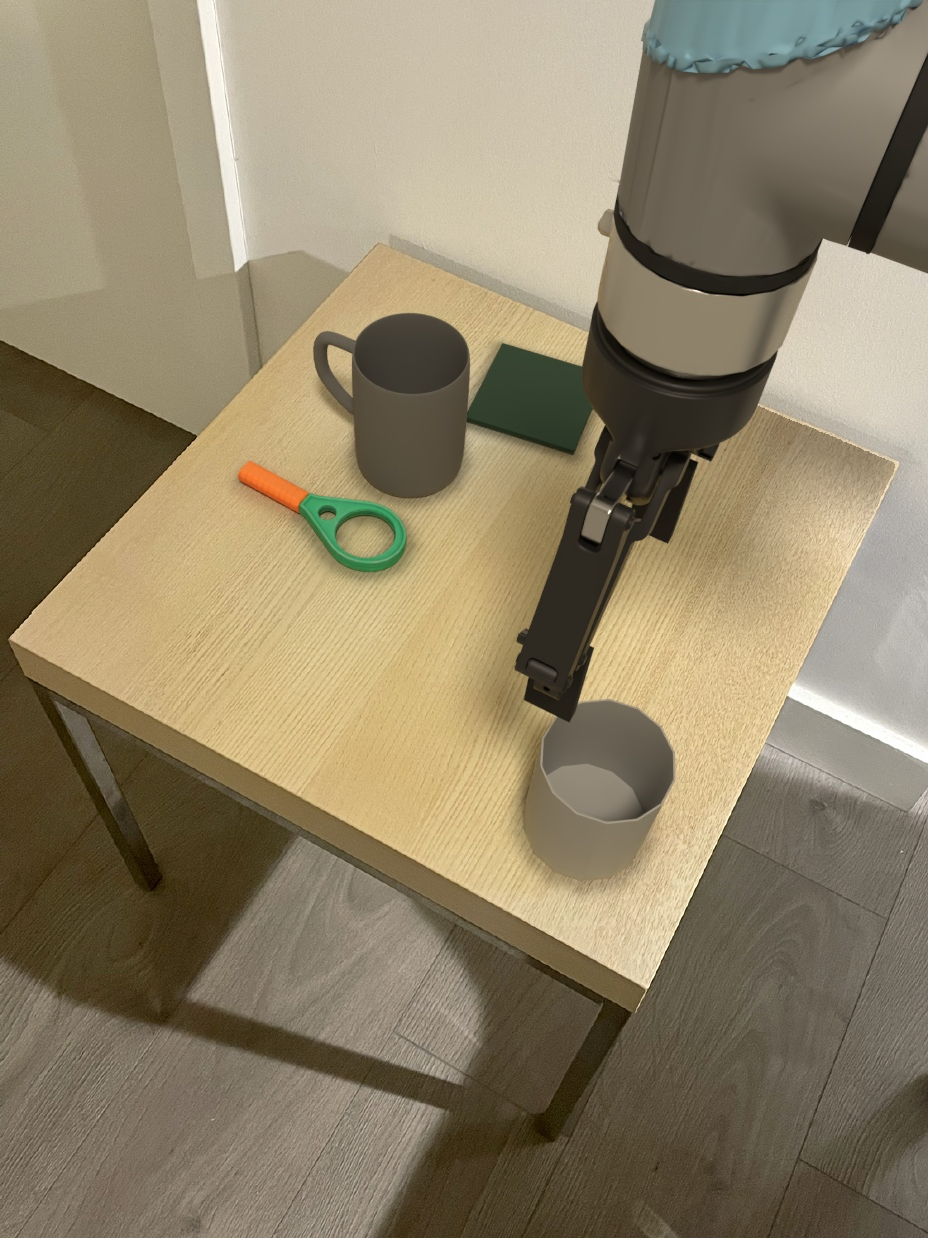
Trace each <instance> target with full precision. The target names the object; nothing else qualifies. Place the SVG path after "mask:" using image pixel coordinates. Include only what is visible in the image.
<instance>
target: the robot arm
mask: <svg viewBox="0 0 928 1238" xmlns="http://www.w3.org/2000/svg"><path fill="white" fill-rule="evenodd" d="M640 41H641V42H642V48H641V49H642V53H641V58H640V63H639V64H640V65H639V70H638V76H637V81H636V87H635V92H634V99H633V104H632V108H631V109H632V110H631V115H630V121H629V127H628V133H627V139H626V144H625V148H624V149H625V150H624V155H623V162H622V167H621V173H620V178H619V182H618V187H617V192H616V198H615V201H614V202H615V203H614V208H613V209H612V208H607V209H606V210H605V211H604V212H603V213H602V214H601V216H600V217H599V218H598V220H597V231H598V232H599V233H600V235H602V236H605V237H607V238H608V243H607V248H606V252H605V253H606V254H605V256H604V260H603V265H602V270H601V275H600V280H599V284H598V289H597V298H596V299H597V300H596V303H595V304H594V307H593V310H592V314H591V319H590V323H589V330H588V335H587V339H586V346H585V348H584V349H585V350H584V355H583V359H582V360H583V361H582V365H581V366H582V384H583V388H584V392H585V394H586V397H587V399H588V401H589V403H590V404H591V406H592V408H593V409H592V410H593V411H594V412H595V413H596V415H598V417H599V418H600V420H601V421H602V423H603V425H604V426H603V428H602V430H601V432H600V435H599V437H598V439H597V442H596V444H595V447H594V450H593V456H594V460H595V461H594V464H593V466H592V468H591V471H590V474H589V476H588V477H587V478H588V479H587V480H586V483H585V485H584V486H583V485H580V486H579V487H578V488H577V489H576V491H575V492H573V494H572V495H571V497H570V500H569V504H570V506H569V508H568V509H569V510H568V513H567V517H566V519H565V524H564V528H563V532H562V535H561V539H560V542H559V544H558V547H557V550H556V552H555V555H554V558H553V561H552V563H551V567H550V569H549V572H548V574H547V577H546V581H545V583H544V585H543V588H542V591H541V594H540V597H539V600H538V602H537V605H536V608H535V611H534V613H533V616H532V618H531V622H530V624H529V627H528V628H526V627H525V628H523V629H522V630H521V631H519V632H518V633H517V635H516V639H515V642H516V643H517V644H520V645H521V649H520V652H519V653H518V654H517V656H516V658H515V661H514V662H515V664H514V671H515V672H518V673H520V674H522V675H524V676H525V677H527V681H526V685H525V692H524V695H523V696H524V697H523V701H524V702H527V703H528V704H530V705H533V706H535V707H536V708H539V709H541V710H543V711H545V712H547V713H549V714H551V715H553V716H554V717H556V716H557V717H559V718H561V719H563V720H565V721H567V722H570V721H571V719H572V717H573V715H574V713H575V711H576V708H577V705H578V702H580V698H581V694H582V690H583V687H584V684H585V680H586V677H587V675H588V670H589V668H590V663H591V661H592V657H593V654H594V650H595V647H593V646H592V645H591V644H592V641H593V640H594V637H595V635H596V632H597V630H598V628H599V626H600V623H601V622H602V619H603V617H604V614H605V613H606V610H607V607H608V605H609V603H610V600H611V598H612V596H613V594H614V592H615V589H616V587H617V584H618V582H619V580H620V577H621V575H622V573H623V571H624V568H625V566H626V564H627V562H628V559H629V557H630V555H631V553H632V551H633V549H634V546H635V543H636V542H640V541H643V540H645V539H646V538H648V537H651V538H653V539H656V540H658V541H660V542H662V543H665V544H666V545H668V544H669V543H670V542H671V539H672V537H673V536H674V534H675V530H676V527H677V525H678V522H679V519H680V516H681V514H682V510H683V508H684V505H685V502H686V500H687V496H688V494H689V492H690V491H689V490H690V488H691V484H692V482H693V480H694V476H695V473H696V471H697V468H698V465H699V461H697V460H694V459H692V458H691V457H692V455H694V456H696V457H699V458H701V459H703V460H706V461H708V462H712V461H713V460H714V458H715V456H716V454H717V451H718V449H719V447H720V444H721V443H724V442H726V441H728V440H730V439H731V438H733V437H735V436H736V435H738V433H740V432H741V431H742V430H743V429H744V428H745V427H746V426H747V425H748V424H749V422H750V420H752V418H753V416H754V415H755V412H756V410H757V408H758V405H759V403H760V400H761V398H762V395H763V393H764V390H765V388H766V385H767V383H768V380H769V378H770V375H771V372H772V371H773V368H774V365H775V363H776V360H777V358H778V357H777V356H778V353H779V350H780V349H781V347H782V346H783V345H784V342H785V340H786V337H787V335H788V333H789V331H790V328H791V326H792V323H793V322H794V318H795V316H796V313H797V311H798V309H799V307H800V303H801V301H802V299H803V296H804V293H805V291H806V289H807V286H808V283H809V281H810V278H811V276H812V273H813V271H814V269H815V266H816V263H817V261H818V256H819V250H820V248H821V245H822V243H823V240H826V241H829V242H831V243H835V244H838V245H841V246H845V247H847V248H849V249H853V250H855V251H859V252H861V253H865V254H866V255H870V254H873V255H876V256H878V257H881V258H885V259H887V260H889V261H892V262H895V263H898V264H901V265H902V266H906V267H908V268H911V269H913V270H916V271H920V272H922V273H925V274H928V0H654V2H653V5H652V10H651V15H650V17H649V19H648V20H647V21H645V23H644V24H643V29H642V34H641V39H640ZM625 502H628V503H630V504H631V506H629V505H626V504H624V503H625Z"/></svg>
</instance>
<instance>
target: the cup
mask: <svg viewBox="0 0 928 1238" xmlns="http://www.w3.org/2000/svg"><path fill="white" fill-rule="evenodd" d="M675 782H676V751H675V750H674V747H673V746H672V744H671V742H670V740H669V738H668V736H667V734H666V732H665V730H664V729H663V727H662V726H661V725H660V724H659V723H658V722H657V721H655V720H654V719H653V718H652V717H650V716H649V715H648V714H647V713H645V712H644V711H643V710H642V709H641V708H640V707H637V706H635V705H631V704H628V703H624V702H621V701H618V700H614V699H611V698H602V699H592V700H582V701H580V700H579V701H578V705H577V708H576V711H575V713H574V715H573V717H572V719H571V721H570V722H567V721H565V720H563V719H561V718H559V717H557V716H554V718H553V720H552V721H551V723H550V725H549V726H548V728H547V729H546V731H545V732H544V734H543V736H542V738H541V740H540V743H539V747H538V752H537V756H536V760H535V763H534V767H533V771H532V775H531V778H530V783H529V786H528V787H529V788H528V791H527V795H526V800H525V803H524V819H523V830H524V833H525V835H526V838H527V840H528V842H529V844H530V847H531V849H532V851H533V854H534V855H535V856H537V858H539V859H540V861H542V862H543V863H544V864H545V865H547V866H548V868H550V869H551V870H552V871H553V872H554V873H556V874H559V875H562V876H565V877H568V878H571V879H574V880H577V881H580V882H589V881H595V880H596V881H597V880H606V879H611V878H613V876H615V875H618V873H620V872H621V871H623V870H624V869H626V868H627V867H630V865H632V864H633V862H634V860H635V859H636V856H637V854H638V853H639V851H640V849H641V847H642V845H643V843H644V841H645V839H646V838H647V836H648V835H649V833H650V832H649V831H650V830H651V828H652V826H653V824H654V822H655V820H656V819H657V817H658V815H659V813H660V811H661V809H662V807H663V805H664V803H665V801H666V799H667V797H668V796H669V794H670V792H671V790H672V788H673V786H674V785H675Z"/></svg>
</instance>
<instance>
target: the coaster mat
mask: <svg viewBox="0 0 928 1238" xmlns="http://www.w3.org/2000/svg"><path fill="white" fill-rule="evenodd" d="M593 410H594V409H593V408H592V406H591V404H590V403H589V401H588V399H587V397H586V394H585V392H584V388H583V384H582V365H578V364H575V363H572V362H568V361H565V360H561V359H557V358H555V357H551V356H548V355H544V354H541V353H538V352H535V351H533V350H528V349H524V348H521V347H518V346H515V345H511V344H508V343H505V342H501V344H500V346H499V348H498V351H497V352H496V353H495V357H494V358H493V360H492V362H491V364H490V366H489V368H488V370H487V372H486V374H485V376H484V378H483V380H482V382H481V383H480V386H479V388H478V390H477V392H476V393H475V396H474V397H473V400H472V401H471V403H470V406H468V411H467V422H466V423H469V424H473V425H475V426H479V427H483V428H484V429H489V430H492V431H495V432H498V433H501V434H504V435H508V436H511V437H514V438H518V439H521V440H523V441H528V442H530V443H533V444H537V445H540V446H543V447H546V448H550V449H552V450H556V451H560V452H563V453H566V454H570V455H572V456H573V455H574V454H575V452H576V450H577V448H578V445H579V442H580V441H581V438H582V436H583V433H584V430H585V428H586V426H587V424H588V421H589V419H590V417H591V414H592V411H593Z"/></svg>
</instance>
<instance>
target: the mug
mask: <svg viewBox="0 0 928 1238" xmlns="http://www.w3.org/2000/svg"><path fill="white" fill-rule="evenodd" d="M329 346H332V347H334V348H338V349H340V350H343V351H344V352H347V353H349V354H351V391H352V392H351V394H352V395H350V393H349V392H348V391H347V390H346V388H344V386H343V385H342V384H341V383H340V381H339V380H338V379H337V377H336V376H335V375H334V373H333V371H332V370H331V368H330V367H331V366H330V363H329V359H328V348H329ZM312 349H313V350H312V354H313V362H314V369H315V371H316V374H317V377H318V378H319V380H320V381H321V383H322V384H323V386H324V387H325V388H326V390H327V391H328V392H329V393H330V395H331V396H332V398H334V400H335V401H336V402H337V403H338V404H339V406H341V407H342V408H343V409H344V410H345V411H346V412H347V413H348V414H350V415H352V417H353V431H354V444H355V456H356V461H357V464H358V467H359V470H360V472H361V474H362V475H363V477H364V478H365V480H366V481H367V482H368V483H369V484H370V485H371V486H372V487H374V488H375V489H377V490H378V491H380V492H383V493H385V494H387V495H390V496H393V497H397V498H405V499H416V498H417V499H418V498H424V497H428V496H431V495H434V494H436V493H438V492H440V491H442V490H444V489H445V488H447V487H448V486H449V485H450V484H451V483H452V482H453V481H454V479H455V478H456V477H457V476H458V474H459V472H460V470H461V466H462V461H463V458H464V453H465V452H464V451H465V443H466V432H467V423H468V422H467V411H468V409H469V394H470V378H471V353H470V349H469V345H468V343H467V340H466V339H465V337H464V336H463V335H462V333H461V331H459V330H458V329H457V328H456V327H455V326H453V325H452V324H450V323H449V322H448V321H445V320H443V319H441V318H439V317H436V316H433V315H430V314H425V313H419V312H400V313H395V314H390V315H386V316H382V317H381V318H378V319H376V320H374V321H372V322H371V323H369V324H368V325H367V326H365V327H364V328H363V329H362V330H361V332H359V334H358V335H357V337H356V339H353V338H351V337H349V336H347V335H343V334H341V333H338V332H335V331H330V330H324V331H321V332H320V333H318V335H316V337H315V339H314V342H313V347H312Z"/></svg>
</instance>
